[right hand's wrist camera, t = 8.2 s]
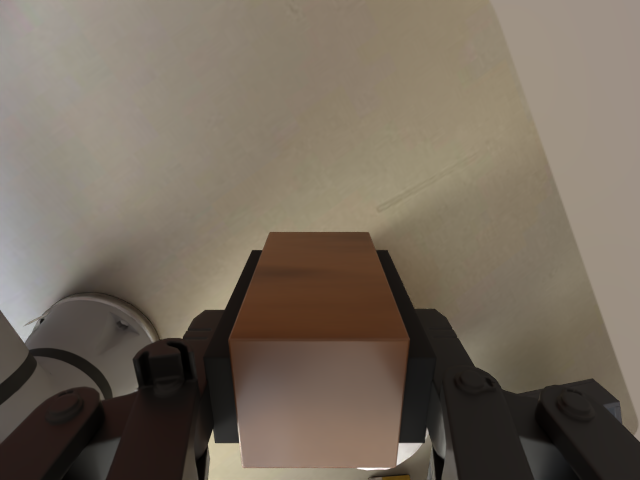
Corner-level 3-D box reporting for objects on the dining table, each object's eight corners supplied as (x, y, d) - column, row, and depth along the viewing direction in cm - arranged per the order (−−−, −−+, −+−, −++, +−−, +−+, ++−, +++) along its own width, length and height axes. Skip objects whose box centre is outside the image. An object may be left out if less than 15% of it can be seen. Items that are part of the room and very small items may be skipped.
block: (364, 317, 16) (396, 468, 9) (273, 317, 16) (241, 469, 9) (369, 231, 14) (410, 339, 8) (269, 231, 14) (227, 339, 8)
